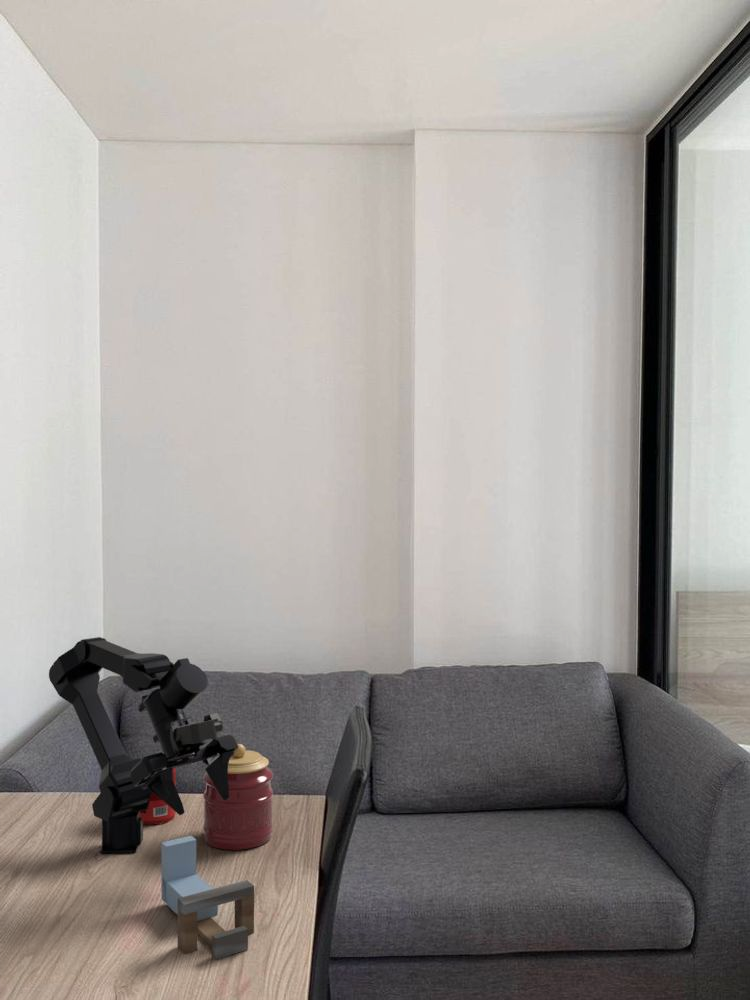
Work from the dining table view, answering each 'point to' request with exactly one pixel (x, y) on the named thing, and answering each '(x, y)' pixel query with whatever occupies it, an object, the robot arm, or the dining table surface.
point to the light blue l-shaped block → (182, 875)
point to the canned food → (158, 809)
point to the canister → (240, 804)
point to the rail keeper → (208, 928)
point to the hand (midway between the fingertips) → (205, 806)
